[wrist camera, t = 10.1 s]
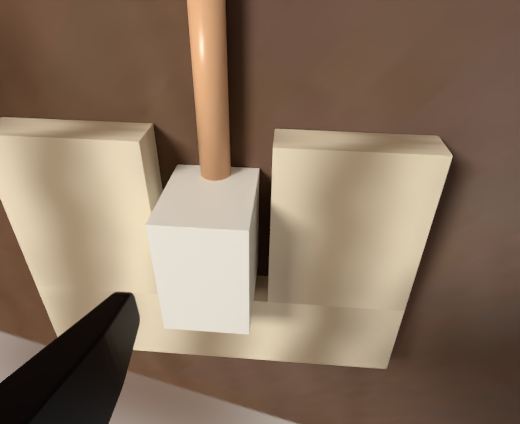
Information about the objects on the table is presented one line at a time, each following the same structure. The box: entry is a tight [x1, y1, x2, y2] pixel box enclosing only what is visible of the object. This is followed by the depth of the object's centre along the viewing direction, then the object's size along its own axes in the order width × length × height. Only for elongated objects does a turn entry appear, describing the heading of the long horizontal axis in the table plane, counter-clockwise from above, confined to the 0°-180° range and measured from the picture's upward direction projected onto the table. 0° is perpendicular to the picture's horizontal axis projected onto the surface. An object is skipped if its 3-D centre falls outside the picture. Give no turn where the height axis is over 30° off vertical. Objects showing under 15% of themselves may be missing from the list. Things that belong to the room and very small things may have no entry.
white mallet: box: [145, 0, 259, 335], centre depth 17 cm, size 4×15×5 cm, turn 179°
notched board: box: [0, 117, 453, 369], centre depth 21 cm, size 20×14×2 cm
